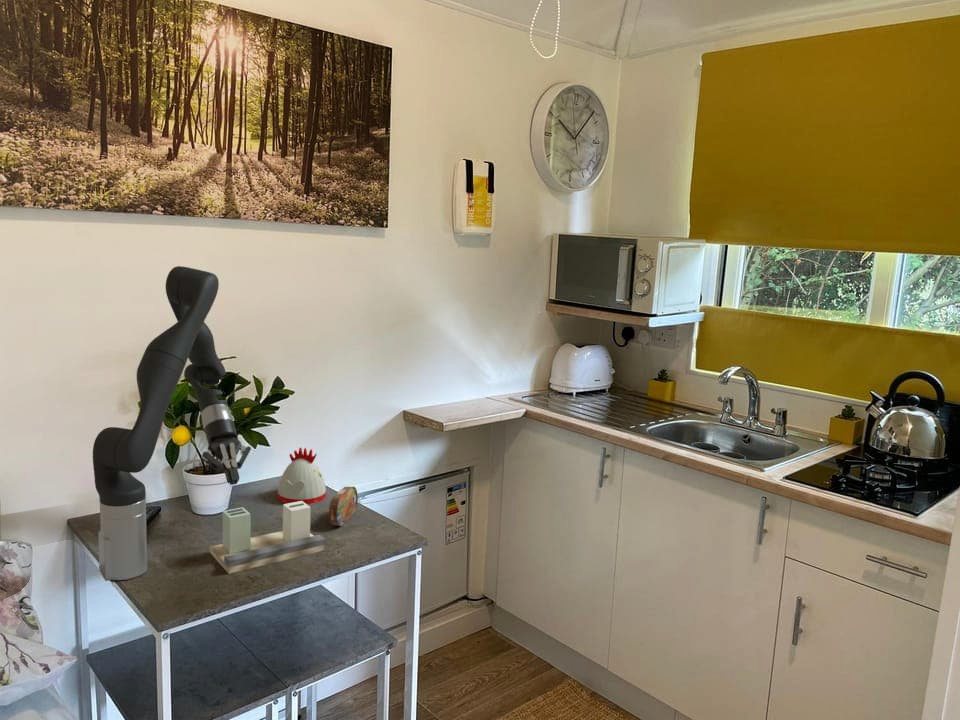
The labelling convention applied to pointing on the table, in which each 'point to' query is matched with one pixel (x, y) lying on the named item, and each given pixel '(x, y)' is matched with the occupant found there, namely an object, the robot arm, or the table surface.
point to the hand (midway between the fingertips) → (234, 483)
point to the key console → (266, 551)
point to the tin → (343, 505)
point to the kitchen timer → (302, 480)
